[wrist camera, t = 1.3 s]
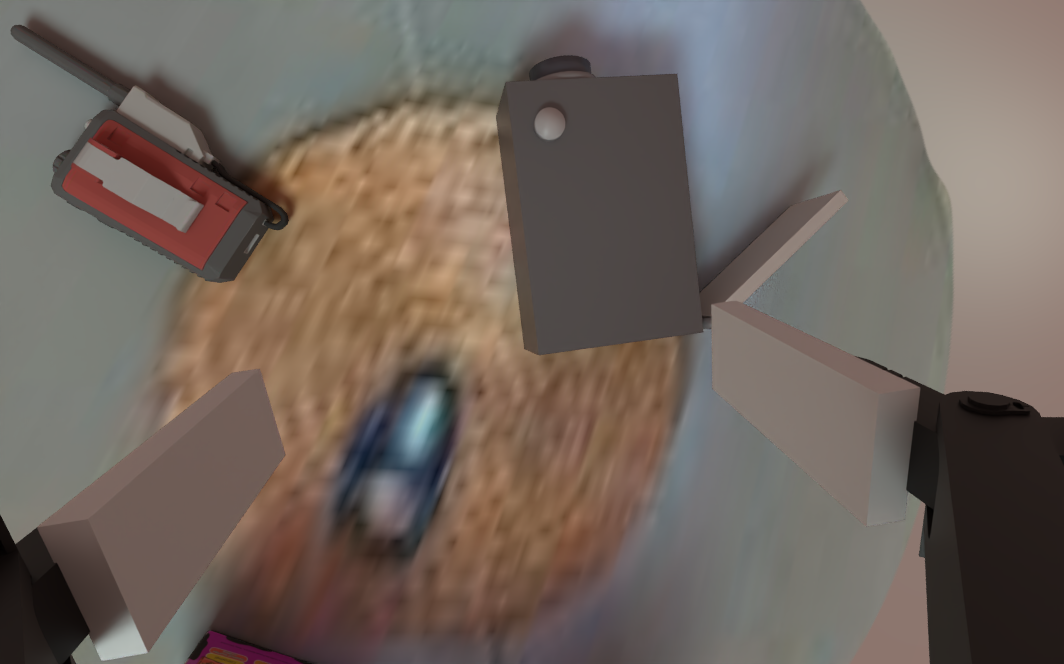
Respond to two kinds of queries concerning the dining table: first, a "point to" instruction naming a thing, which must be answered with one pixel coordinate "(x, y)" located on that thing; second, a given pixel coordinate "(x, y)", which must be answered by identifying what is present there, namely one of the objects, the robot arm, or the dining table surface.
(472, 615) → the dining table surface
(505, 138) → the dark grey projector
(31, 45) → the walkie-talkie
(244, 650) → the candy bar box
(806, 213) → the side door
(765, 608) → the dining table surface
